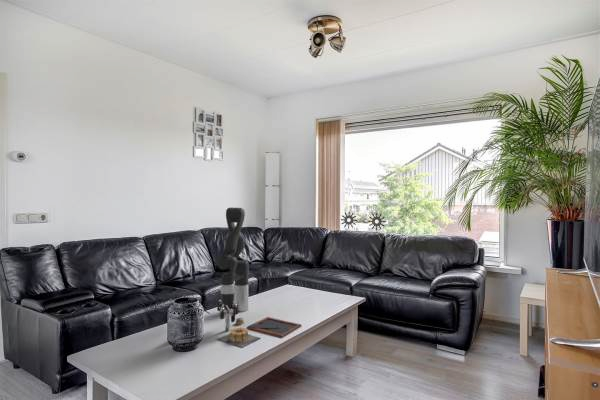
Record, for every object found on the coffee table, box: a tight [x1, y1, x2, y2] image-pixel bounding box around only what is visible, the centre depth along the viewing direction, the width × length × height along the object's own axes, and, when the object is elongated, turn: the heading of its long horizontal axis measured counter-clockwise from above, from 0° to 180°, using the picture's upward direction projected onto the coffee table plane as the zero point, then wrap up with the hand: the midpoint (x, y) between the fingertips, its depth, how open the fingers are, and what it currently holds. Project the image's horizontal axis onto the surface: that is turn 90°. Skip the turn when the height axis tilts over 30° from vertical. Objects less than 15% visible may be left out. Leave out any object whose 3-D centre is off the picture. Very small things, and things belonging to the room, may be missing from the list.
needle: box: [224, 310, 231, 332], centre depth 198 cm, size 2×2×12 cm
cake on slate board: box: [217, 327, 261, 349], centre depth 186 cm, size 18×14×4 cm
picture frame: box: [246, 316, 302, 339], centre depth 203 cm, size 20×2×25 cm
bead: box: [235, 317, 245, 326], centre depth 209 cm, size 4×4×3 cm
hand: (227, 320), depth 197 cm, fingers open, 8 cm apart
